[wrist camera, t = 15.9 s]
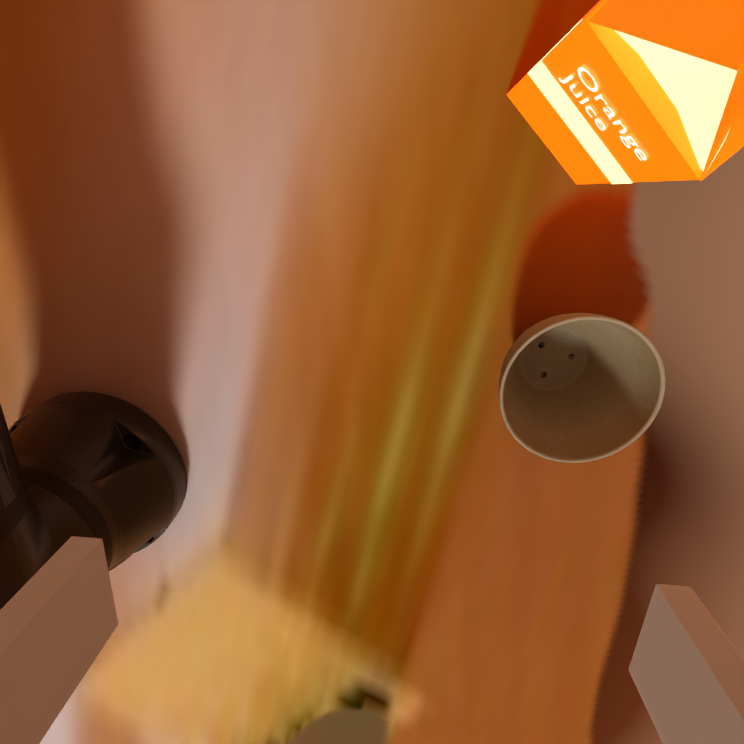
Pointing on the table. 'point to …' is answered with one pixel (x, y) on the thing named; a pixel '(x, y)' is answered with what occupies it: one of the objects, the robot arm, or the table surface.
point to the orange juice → (641, 91)
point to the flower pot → (580, 387)
